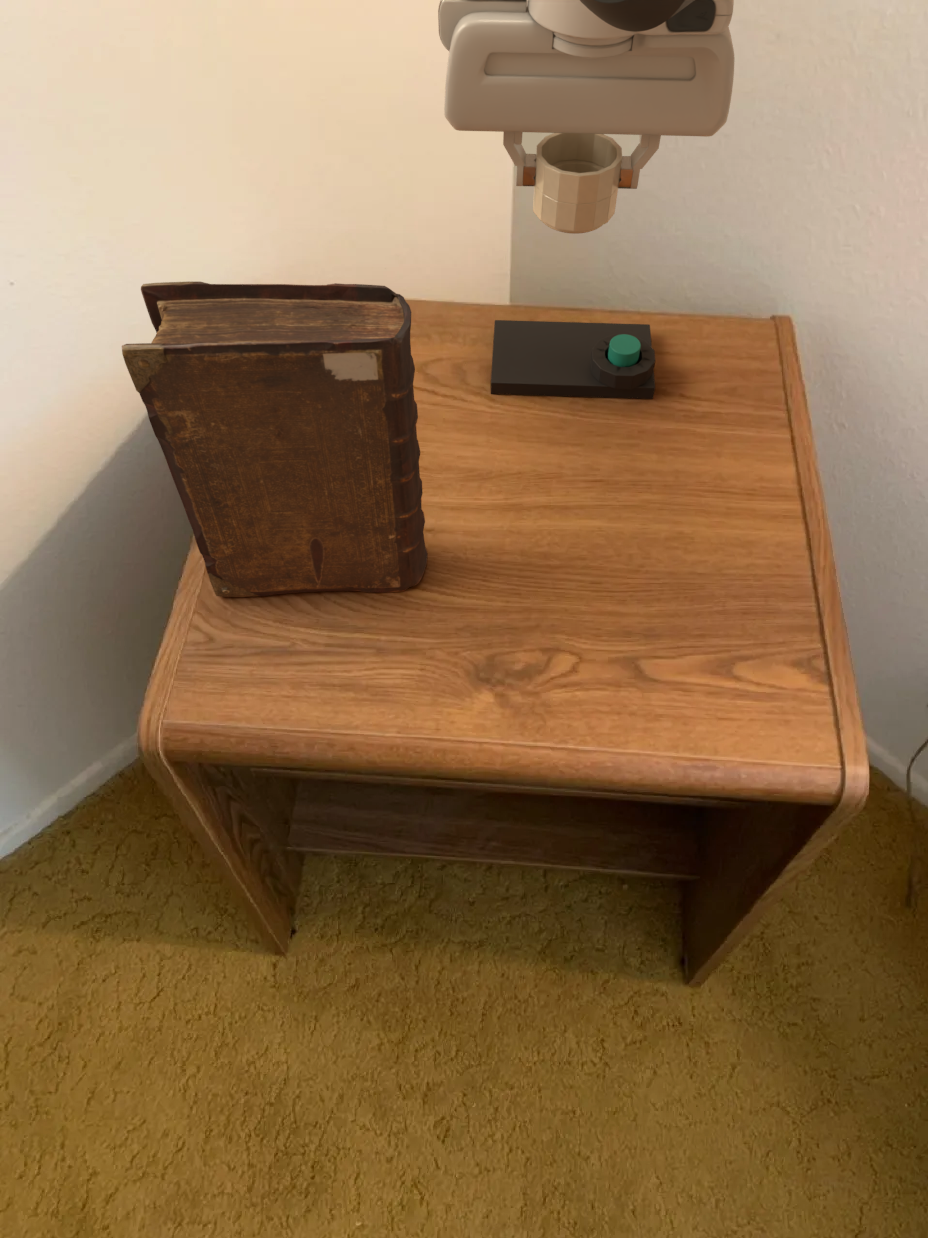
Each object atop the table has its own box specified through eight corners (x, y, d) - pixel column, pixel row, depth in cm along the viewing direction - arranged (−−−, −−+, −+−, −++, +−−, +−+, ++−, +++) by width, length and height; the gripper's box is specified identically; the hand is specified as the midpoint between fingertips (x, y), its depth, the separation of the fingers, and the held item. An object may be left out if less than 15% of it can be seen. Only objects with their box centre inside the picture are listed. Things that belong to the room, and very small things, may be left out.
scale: (647, 335, 90) (652, 310, 88) (653, 401, 85) (658, 376, 83) (494, 331, 91) (494, 305, 88) (490, 396, 86) (490, 371, 83)
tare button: (637, 347, 85) (640, 334, 84) (639, 368, 84) (641, 354, 82) (607, 346, 85) (609, 333, 84) (608, 367, 84) (610, 353, 83)
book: (432, 544, 76) (415, 281, 55) (422, 615, 72) (400, 360, 51) (232, 532, 77) (142, 269, 56) (211, 601, 73) (107, 346, 52)
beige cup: (612, 190, 75) (620, 129, 71) (615, 238, 71) (623, 176, 67) (533, 188, 75) (537, 127, 71) (532, 236, 72) (536, 174, 68)
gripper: (433, -1, 59) (439, 203, 70) (759, 5, 58) (711, 210, 69) (440, -43, 62) (445, 157, 74) (747, -38, 61) (703, 164, 73)
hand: (576, 183), depth 71 cm, fingers closed on beige cup, 6 cm apart
